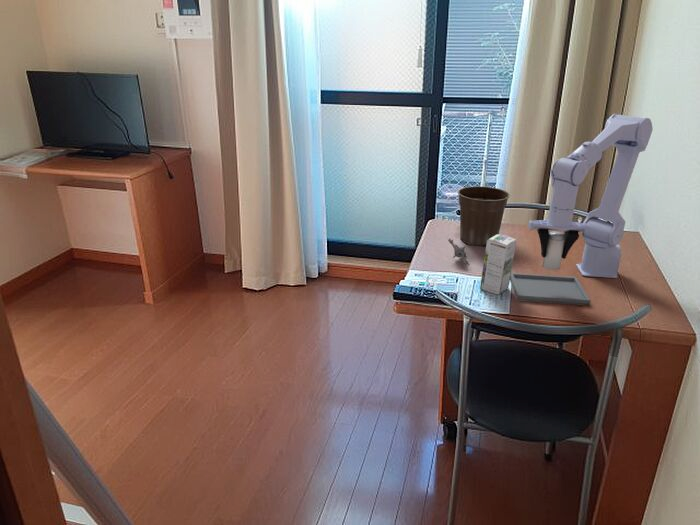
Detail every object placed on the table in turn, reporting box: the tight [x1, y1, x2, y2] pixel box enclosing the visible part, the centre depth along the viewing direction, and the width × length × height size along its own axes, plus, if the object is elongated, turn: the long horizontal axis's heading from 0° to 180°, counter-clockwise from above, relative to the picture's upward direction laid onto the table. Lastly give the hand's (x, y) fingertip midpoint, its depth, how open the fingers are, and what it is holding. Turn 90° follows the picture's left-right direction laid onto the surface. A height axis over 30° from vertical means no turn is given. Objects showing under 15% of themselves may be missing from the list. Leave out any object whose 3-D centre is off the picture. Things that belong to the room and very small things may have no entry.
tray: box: [509, 272, 591, 306], centre depth 144 cm, size 18×14×2 cm
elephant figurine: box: [447, 238, 470, 267], centre depth 162 cm, size 10×6×9 cm
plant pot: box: [457, 185, 511, 247], centre depth 176 cm, size 16×16×16 cm
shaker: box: [541, 230, 565, 271], centre depth 141 cm, size 4×4×9 cm
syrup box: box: [479, 234, 517, 296], centre depth 142 cm, size 6×6×14 cm
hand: (553, 256), depth 141 cm, fingers closed on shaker, 4 cm apart
